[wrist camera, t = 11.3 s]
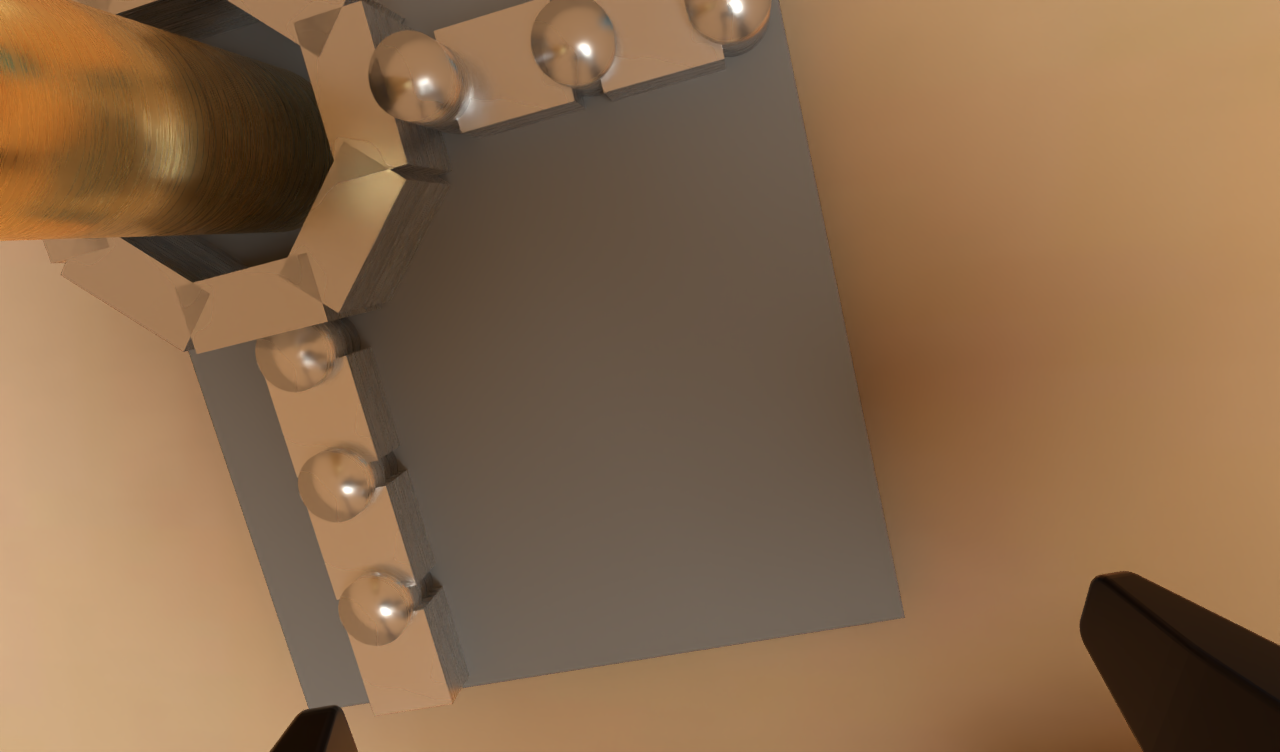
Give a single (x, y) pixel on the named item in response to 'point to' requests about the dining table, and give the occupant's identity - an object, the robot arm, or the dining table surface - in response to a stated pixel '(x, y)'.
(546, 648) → the grey base plate
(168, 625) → the dining table surface
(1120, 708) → the robot arm
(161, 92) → the golden flared cup
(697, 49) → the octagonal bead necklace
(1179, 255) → the dining table surface
